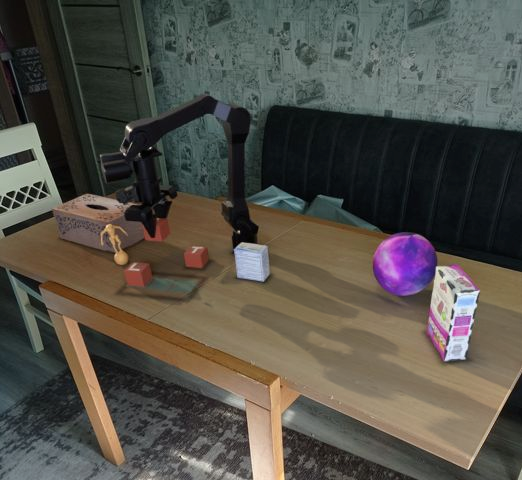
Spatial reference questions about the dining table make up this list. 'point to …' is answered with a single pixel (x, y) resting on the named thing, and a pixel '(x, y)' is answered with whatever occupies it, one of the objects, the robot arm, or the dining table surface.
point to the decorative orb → (404, 263)
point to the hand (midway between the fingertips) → (157, 233)
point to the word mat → (166, 283)
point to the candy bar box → (452, 312)
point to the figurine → (120, 256)
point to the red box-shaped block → (159, 230)
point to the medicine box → (252, 261)
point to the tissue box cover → (96, 222)
